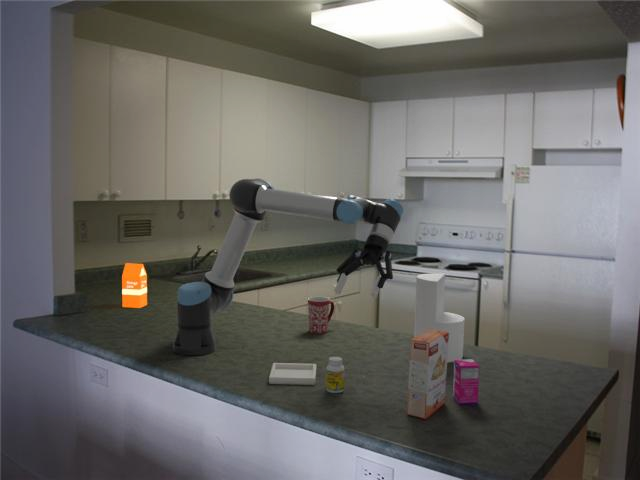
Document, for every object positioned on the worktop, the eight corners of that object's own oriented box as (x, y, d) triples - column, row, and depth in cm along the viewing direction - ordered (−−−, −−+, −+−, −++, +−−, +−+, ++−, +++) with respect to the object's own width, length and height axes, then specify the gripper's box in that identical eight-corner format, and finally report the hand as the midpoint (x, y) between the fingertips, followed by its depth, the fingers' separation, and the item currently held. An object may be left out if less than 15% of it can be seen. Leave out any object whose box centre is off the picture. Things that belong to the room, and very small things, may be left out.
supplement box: (451, 397, 175) (453, 359, 174) (471, 397, 176) (473, 358, 174) (458, 405, 169) (460, 365, 168) (478, 404, 170) (480, 365, 169)
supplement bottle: (346, 388, 181) (347, 357, 180) (340, 394, 176) (341, 362, 175) (329, 386, 183) (330, 355, 181) (323, 391, 178) (324, 360, 176)
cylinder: (408, 358, 211) (412, 279, 208) (418, 345, 227) (421, 272, 224) (459, 365, 205) (463, 283, 202) (465, 351, 221) (469, 275, 218)
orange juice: (129, 303, 288) (129, 261, 286) (147, 304, 287) (146, 262, 285) (122, 307, 281) (121, 264, 278) (140, 308, 279) (139, 265, 277)
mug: (316, 335, 238) (317, 302, 237) (302, 330, 245) (302, 298, 244) (340, 331, 246) (341, 298, 245) (326, 326, 253) (327, 294, 252)
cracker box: (427, 420, 158) (430, 342, 156) (406, 415, 162) (408, 338, 159) (446, 404, 170) (449, 331, 168) (426, 399, 173) (429, 327, 171)
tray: (268, 383, 183) (269, 377, 183) (273, 368, 197) (273, 362, 197) (315, 384, 183) (315, 378, 183) (316, 369, 197) (316, 363, 197)
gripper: (416, 249, 194) (394, 304, 184) (352, 246, 210) (328, 297, 200) (407, 234, 190) (384, 290, 180) (342, 232, 205) (317, 283, 195)
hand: (354, 294), depth 190 cm, fingers open, 13 cm apart
